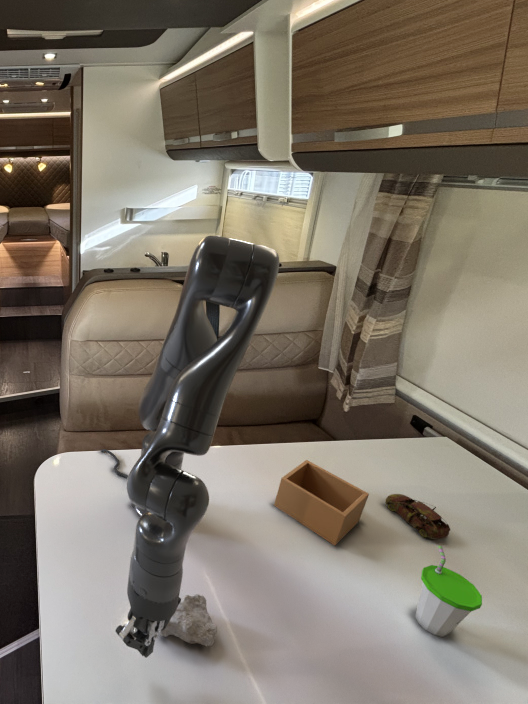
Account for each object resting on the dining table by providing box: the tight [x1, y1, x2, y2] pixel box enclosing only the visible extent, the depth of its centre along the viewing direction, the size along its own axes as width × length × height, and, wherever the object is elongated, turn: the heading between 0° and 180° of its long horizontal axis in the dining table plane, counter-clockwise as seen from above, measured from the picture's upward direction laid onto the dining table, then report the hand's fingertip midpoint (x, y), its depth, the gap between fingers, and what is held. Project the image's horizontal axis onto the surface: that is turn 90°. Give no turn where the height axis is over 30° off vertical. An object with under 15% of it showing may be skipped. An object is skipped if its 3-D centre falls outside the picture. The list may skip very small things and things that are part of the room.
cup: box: [414, 545, 483, 638], centre depth 75 cm, size 8×8×15 cm
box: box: [273, 459, 370, 546], centre depth 100 cm, size 12×14×9 cm
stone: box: [159, 593, 218, 647], centre depth 76 cm, size 8×10×6 cm
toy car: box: [384, 493, 451, 540], centre depth 99 cm, size 12×7×5 cm, turn 10°
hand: (144, 650), depth 70 cm, fingers closed
